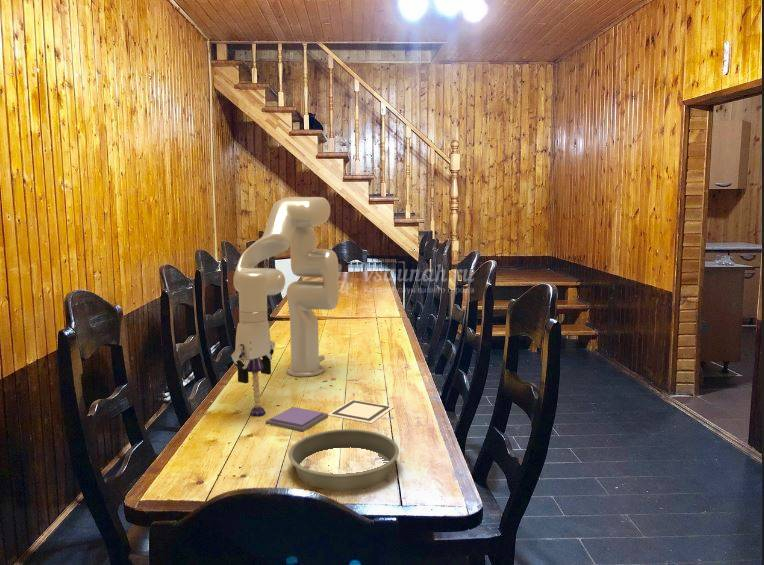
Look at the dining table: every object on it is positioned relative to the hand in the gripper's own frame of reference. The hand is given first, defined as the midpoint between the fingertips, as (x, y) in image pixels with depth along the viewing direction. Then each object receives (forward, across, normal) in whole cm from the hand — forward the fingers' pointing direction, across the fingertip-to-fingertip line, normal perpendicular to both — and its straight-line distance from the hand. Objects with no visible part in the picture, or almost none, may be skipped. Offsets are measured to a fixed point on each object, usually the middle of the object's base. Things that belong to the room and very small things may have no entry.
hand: (254, 378), depth 168 cm
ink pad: (+10, -2, +13) cm, 17 cm away
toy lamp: (+11, -1, 0) cm, 11 cm away
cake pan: (+12, +17, +39) cm, 44 cm away
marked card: (+10, -16, +25) cm, 31 cm away
